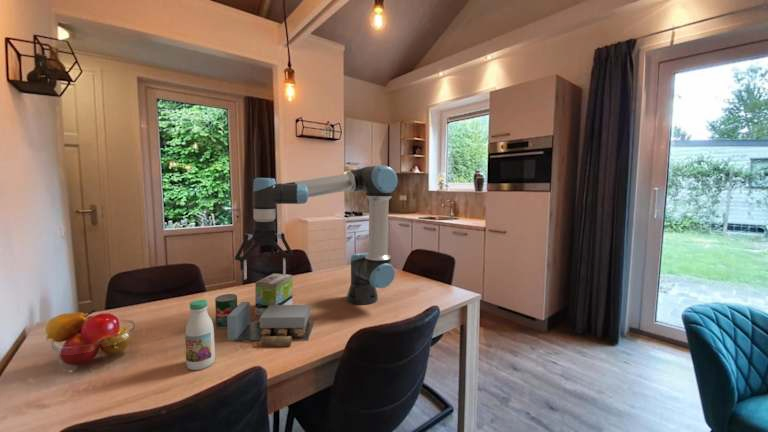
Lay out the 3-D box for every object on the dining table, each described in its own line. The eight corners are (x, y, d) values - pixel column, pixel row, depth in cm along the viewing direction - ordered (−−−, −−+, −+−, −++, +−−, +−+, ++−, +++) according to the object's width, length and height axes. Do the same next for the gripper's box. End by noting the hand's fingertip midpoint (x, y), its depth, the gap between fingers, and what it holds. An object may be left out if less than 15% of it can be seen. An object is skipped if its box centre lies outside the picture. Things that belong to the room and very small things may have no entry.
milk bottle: (194, 357, 104) (191, 297, 102) (219, 357, 105) (217, 297, 103) (181, 371, 96) (178, 306, 94) (208, 370, 97) (205, 306, 95)
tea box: (276, 318, 136) (275, 283, 134) (254, 315, 138) (254, 281, 136) (293, 305, 150) (292, 274, 149) (273, 303, 152) (273, 272, 151)
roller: (291, 342, 115) (291, 334, 115) (289, 347, 112) (289, 339, 111) (263, 343, 114) (262, 334, 114) (260, 348, 111) (260, 339, 111)
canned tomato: (215, 329, 124) (214, 302, 123) (215, 321, 131) (215, 295, 130) (238, 325, 127) (237, 299, 126) (237, 318, 134) (236, 292, 133)
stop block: (250, 323, 130) (249, 301, 129) (236, 340, 116) (235, 316, 115) (242, 323, 129) (241, 301, 128) (227, 340, 115) (227, 316, 115)
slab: (310, 314, 130) (310, 304, 129) (304, 327, 118) (304, 317, 117) (269, 314, 129) (269, 305, 128) (259, 328, 117) (259, 317, 116)
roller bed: (314, 322, 132) (314, 313, 131) (308, 340, 117) (308, 330, 116) (249, 323, 130) (249, 314, 130) (234, 341, 115) (234, 331, 115)
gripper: (298, 218, 126) (298, 272, 128) (228, 219, 117) (229, 276, 119) (300, 220, 119) (300, 277, 121) (225, 221, 110) (227, 282, 112)
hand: (265, 277), depth 120 cm, fingers open, 13 cm apart
